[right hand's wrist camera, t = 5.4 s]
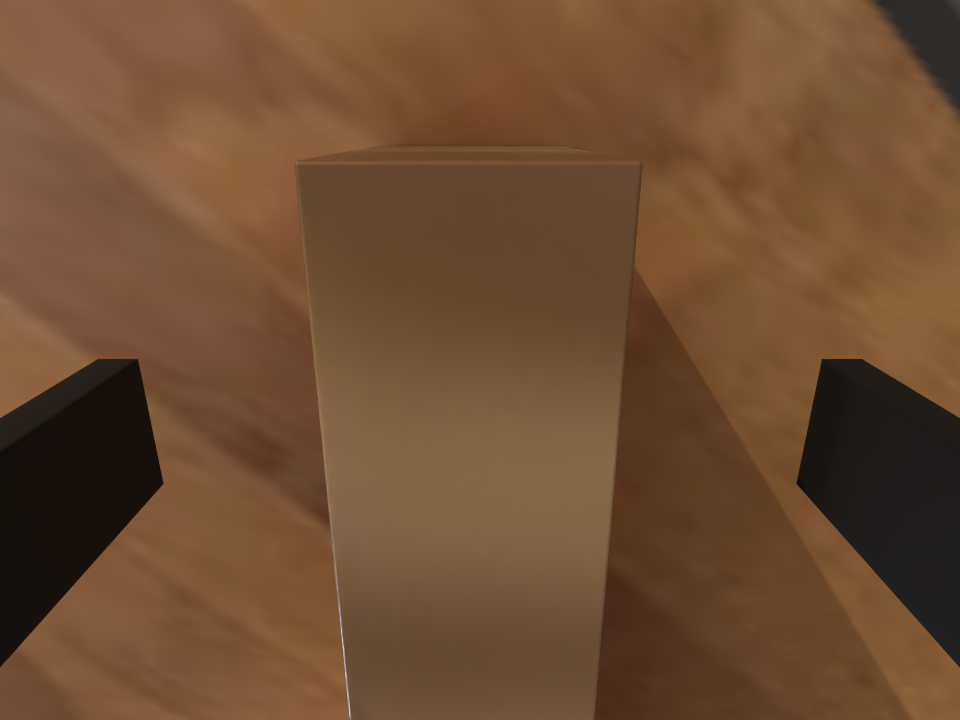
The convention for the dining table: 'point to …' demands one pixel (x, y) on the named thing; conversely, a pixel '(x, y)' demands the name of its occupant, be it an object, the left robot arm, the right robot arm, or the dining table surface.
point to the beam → (470, 417)
